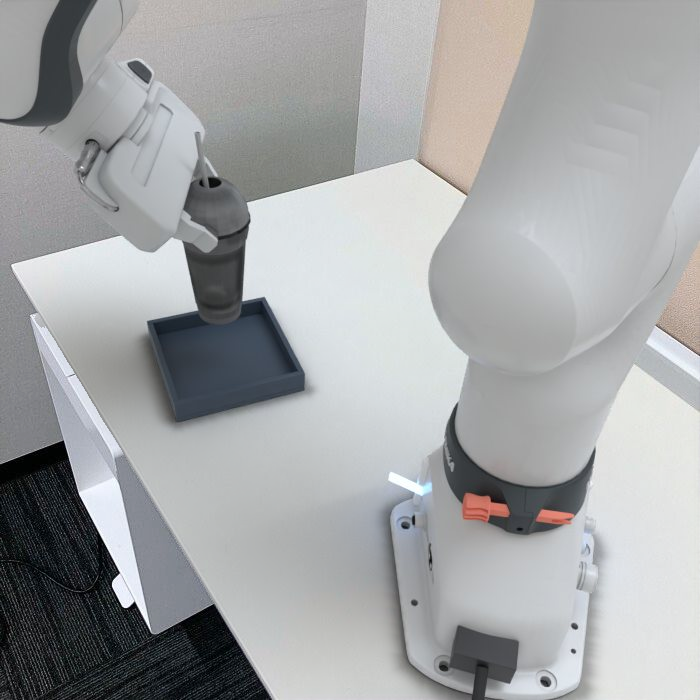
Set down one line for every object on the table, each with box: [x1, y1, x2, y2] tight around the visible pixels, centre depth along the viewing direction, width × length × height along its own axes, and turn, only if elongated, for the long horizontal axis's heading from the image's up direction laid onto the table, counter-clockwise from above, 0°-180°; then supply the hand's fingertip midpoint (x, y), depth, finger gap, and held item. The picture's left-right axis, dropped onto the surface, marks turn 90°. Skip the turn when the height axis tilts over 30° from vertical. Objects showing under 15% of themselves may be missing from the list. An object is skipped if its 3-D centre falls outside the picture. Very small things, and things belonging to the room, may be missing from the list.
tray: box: [146, 296, 306, 423], centre depth 83 cm, size 14×14×3 cm
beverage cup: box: [181, 132, 252, 325], centre depth 72 cm, size 7×7×20 cm
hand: (219, 219), depth 71 cm, fingers closed on beverage cup, 7 cm apart
